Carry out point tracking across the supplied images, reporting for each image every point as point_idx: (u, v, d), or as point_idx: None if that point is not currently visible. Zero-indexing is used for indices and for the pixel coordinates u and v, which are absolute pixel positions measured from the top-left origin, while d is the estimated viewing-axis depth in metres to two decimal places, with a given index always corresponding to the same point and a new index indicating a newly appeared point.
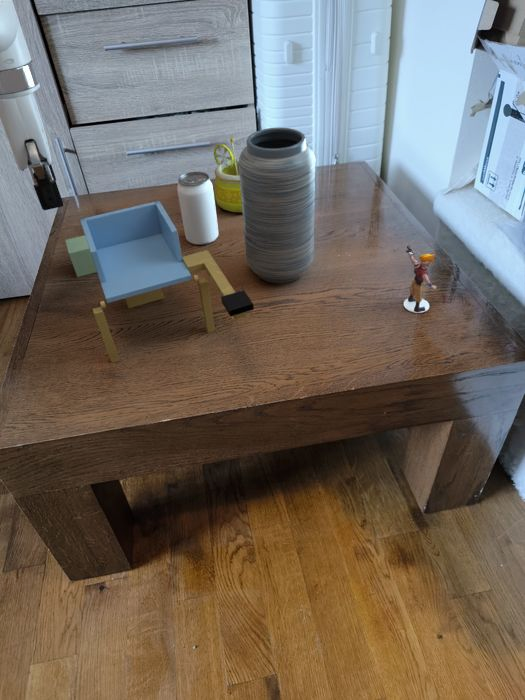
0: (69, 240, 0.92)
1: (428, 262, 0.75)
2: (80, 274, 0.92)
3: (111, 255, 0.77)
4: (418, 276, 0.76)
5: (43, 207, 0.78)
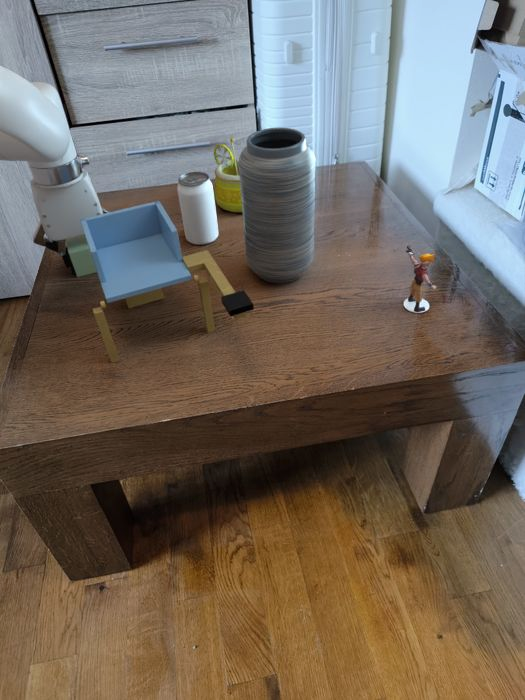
0: (69, 240, 0.92)
1: (428, 262, 0.75)
2: (80, 274, 0.92)
3: (111, 255, 0.77)
4: (418, 276, 0.76)
5: None
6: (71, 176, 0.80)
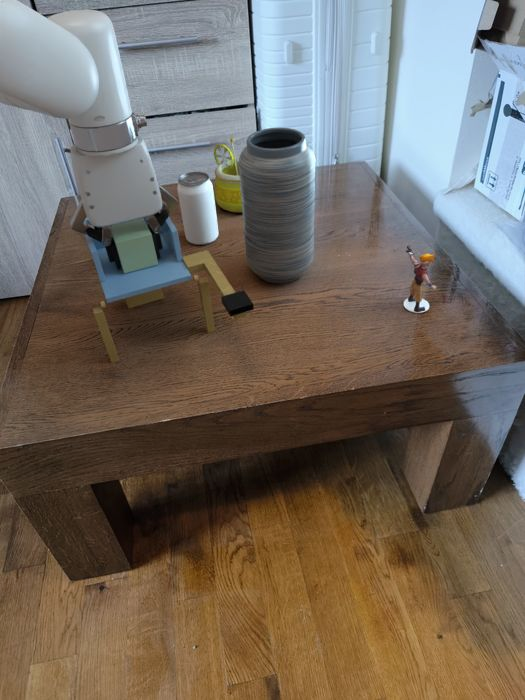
0: (114, 227, 0.73)
1: (428, 262, 0.75)
2: (127, 269, 0.73)
3: None
4: (418, 276, 0.76)
5: None
6: (125, 140, 0.61)
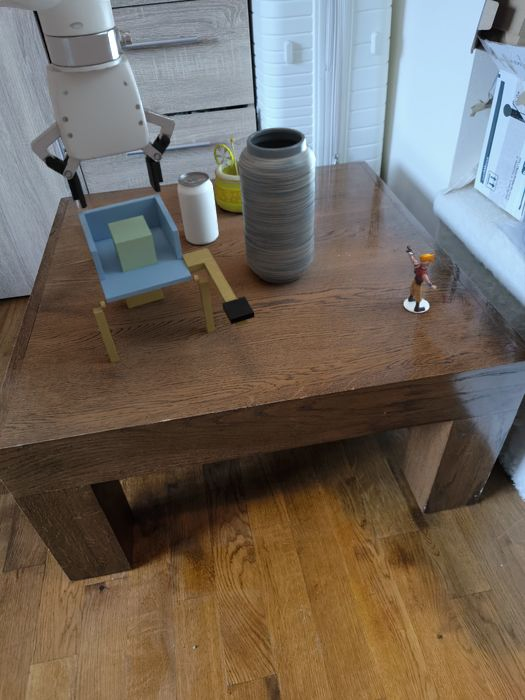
0: (113, 224, 0.72)
1: (428, 262, 0.75)
2: (127, 268, 0.72)
3: (109, 249, 0.76)
4: (418, 276, 0.76)
5: None
6: (107, 54, 0.55)
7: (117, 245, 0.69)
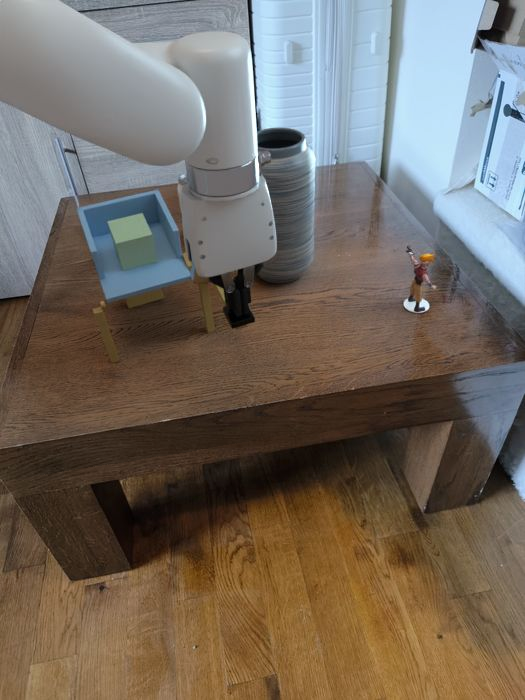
0: (113, 222, 0.71)
1: (428, 262, 0.75)
2: (126, 267, 0.72)
3: (108, 245, 0.75)
4: (418, 276, 0.76)
5: None
6: (251, 182, 0.52)
7: (117, 245, 0.69)
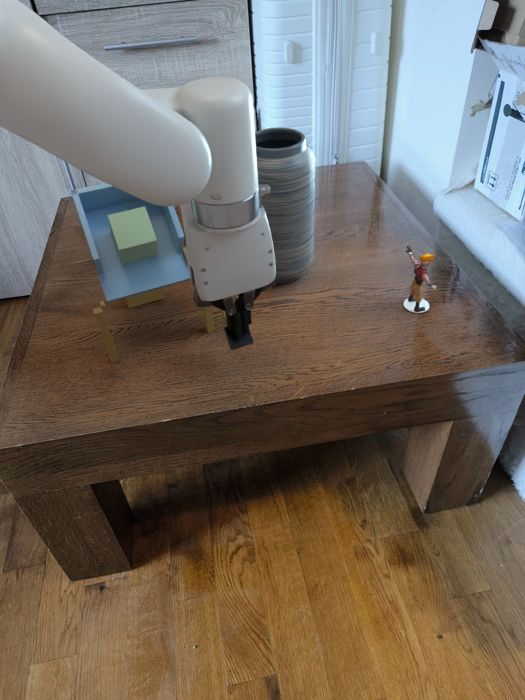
0: (113, 217, 0.66)
1: (428, 262, 0.75)
2: (126, 262, 0.70)
3: (103, 227, 0.71)
4: (418, 276, 0.76)
5: None
6: (252, 215, 0.55)
7: (120, 250, 0.66)
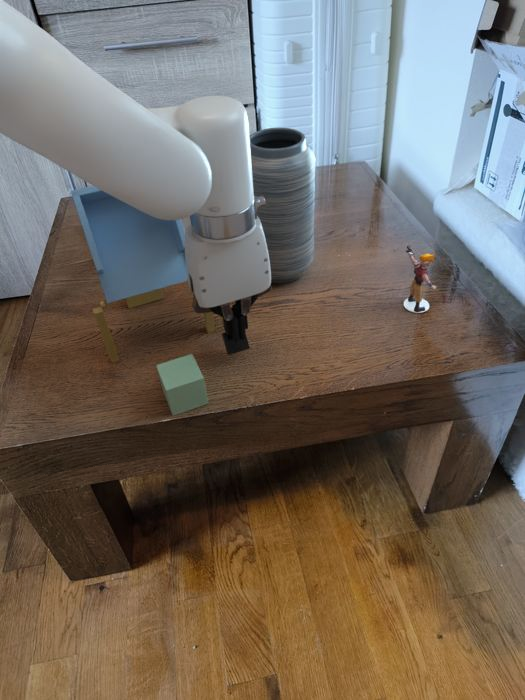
0: (162, 366, 0.67)
1: (428, 262, 0.75)
2: (176, 412, 0.67)
3: (103, 221, 0.68)
4: (418, 276, 0.76)
5: None
6: (248, 226, 0.58)
7: (167, 391, 0.64)
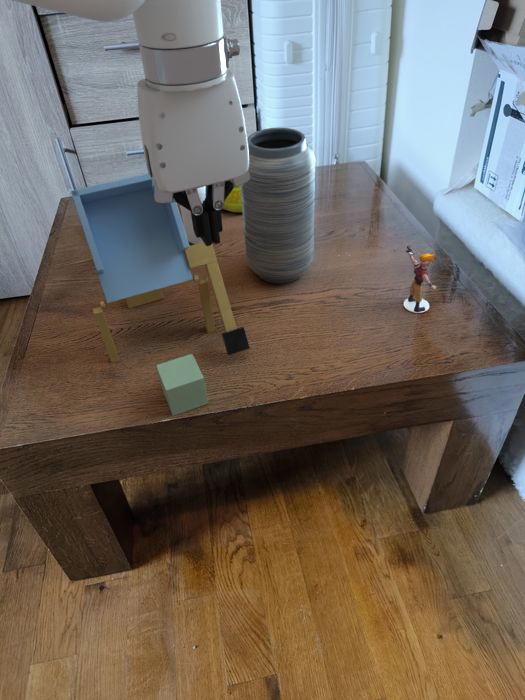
0: (162, 366, 0.67)
1: (428, 262, 0.75)
2: (176, 412, 0.67)
3: (103, 221, 0.68)
4: (418, 276, 0.76)
5: None
6: (215, 69, 0.45)
7: (167, 391, 0.64)
